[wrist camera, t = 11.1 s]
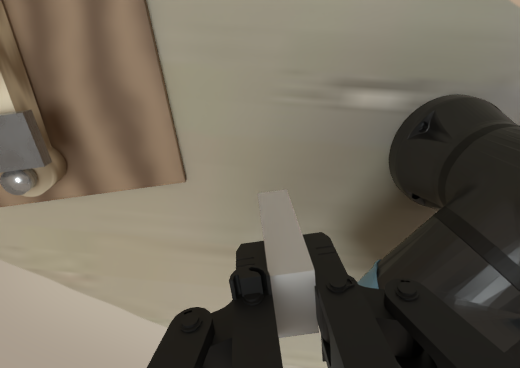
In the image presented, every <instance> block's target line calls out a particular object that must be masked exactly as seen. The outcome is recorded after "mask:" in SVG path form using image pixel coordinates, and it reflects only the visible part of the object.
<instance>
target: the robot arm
mask: <svg viewBox="0 0 520 368" xmlns="http://www.w3.org/2000/svg"><path fill="white" fill-rule="evenodd" d="M389 166H390V172H391V176H392V178H393V180H394V182H395V184H396V185H397V187H398V188H399V189H400V190H401V191H402V192H403V193H404V194H405V195H407V196H408V197H409V198H410V199H412V200H413V201H415V202H417V203H419V204H421V205H424V206H427V207H431V208H434V209H438V210H439V211H438V212H437V213H436V214H434V215H433V216H432V217H430V218H429V219H428V220H427V221H426V222H425V223H424V224H423V225H421V226H420V227H419V228H418V229H417V230H416V231H415V232H414V233H412V234H411V235H410V236H409V237H408V238H406V239H405V240H404V241H403V242H402V243H401V244H399V245H398V246H397V247H396V248H395V249H394V250H392V251H391V252H390V253H389V254H388V255H386V256H385V257H384V258H383V259H382V260H378V261H376V262H375V264H374V266H373V268H372V269H371V270H370V271H369V272H368V273H367V274H365V275H364V276H363V277H362V278H361V279H360V280H359V281H358V282H356V280H355V279H354V278H352V277H351V276H349V275H348V274H347V272H346V270H345V268H344V266H343V264H342V262H341V260H340V258H339V256H338V254H337V252H336V250H335V247H334V246H333V243H332V241H331V239H330V238H329V237H328V236H327V235H325V234H324V233H323V232H319V233H312V234H305V235H302V232H301V229H300V226H299V223H298V220H297V217H296V214H295V211H294V209H293V206H292V203H291V200H290V197H289V194H288V191H287V189H284V190H276V191H269V192H262V193H258V200H259V207H260V215H261V222H262V230H263V238H264V241H259V242H252V243H244V244H241V245H240V246H239V248H238V250H237V251H236V270H235V271H234V272H233V273H232V274H231V276H230V279H229V283H230V288H231V293H232V298H233V300H232V301H231V302H230V303H229V304H228V305H227V306H226V307H224V308H222V309H220V310H218V311H215V312H213V313H210V312H209V311H208V310H206V309H205V308H200V307H194V308H189V309H186V310H184V311H182V312H181V313H179V314H178V315H176V316H175V318H174V319H173V320H172V322H171V323H170V325H169V327H168V329H167V331H166V333H165V335H164V337H163V338H162V341H161V342H160V344H159V346H158V348H157V350H156V351H155V353H154V355H153V357H152V359H151V361H150V363H149V365H148V367H147V368H283V366H282V359H281V352H280V345H279V338H283V337H290V336H297V335H304V334H312V333H319V329H320V332H321V340H322V356H323V361H326V362H327V366H328V368H520V126H518V125H516V124H515V123H514V122H513V121H512V120H511V119H509V118H508V117H507V116H506V115H505V114H503V113H502V112H501V111H500V110H499V109H498V108H497V107H496V106H495V105H493V104H492V103H490V102H488V101H486V100H483V99H480V98H476V97H471V96H467V95H448V96H443V97H440V98H437V99H434V100H432V101H430V102H428V103H426V104H425V105H423V106H421V107H420V108H419V109H417V110H416V111H415V112H414V113H412V114H411V115H410V116H409V117H408V118H407V120H406V121H405V122H404V123H403V125H402V126H401V127H400V129H399V130H398V132H397V134H396V136H395V138H394V140H393V143H392V146H391V150H390V157H389ZM318 325H319V329H318Z"/></svg>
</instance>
